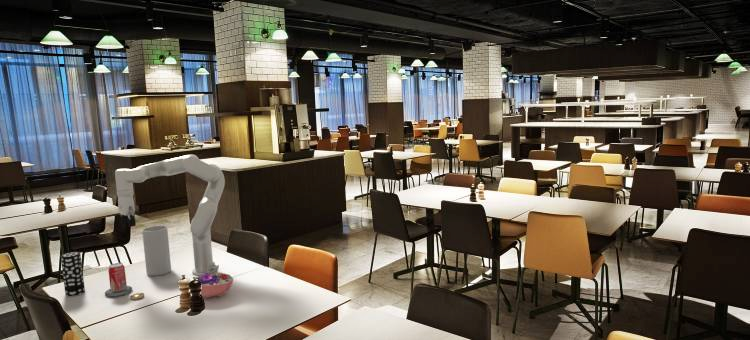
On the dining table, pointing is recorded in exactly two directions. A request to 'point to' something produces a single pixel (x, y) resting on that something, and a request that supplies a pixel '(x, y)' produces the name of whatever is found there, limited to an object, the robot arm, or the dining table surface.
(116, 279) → the soda can
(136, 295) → the disc
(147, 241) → the cylinder vase
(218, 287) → the cell model
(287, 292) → the dining table surface
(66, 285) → the white-spotted black cylinder
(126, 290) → the disc
